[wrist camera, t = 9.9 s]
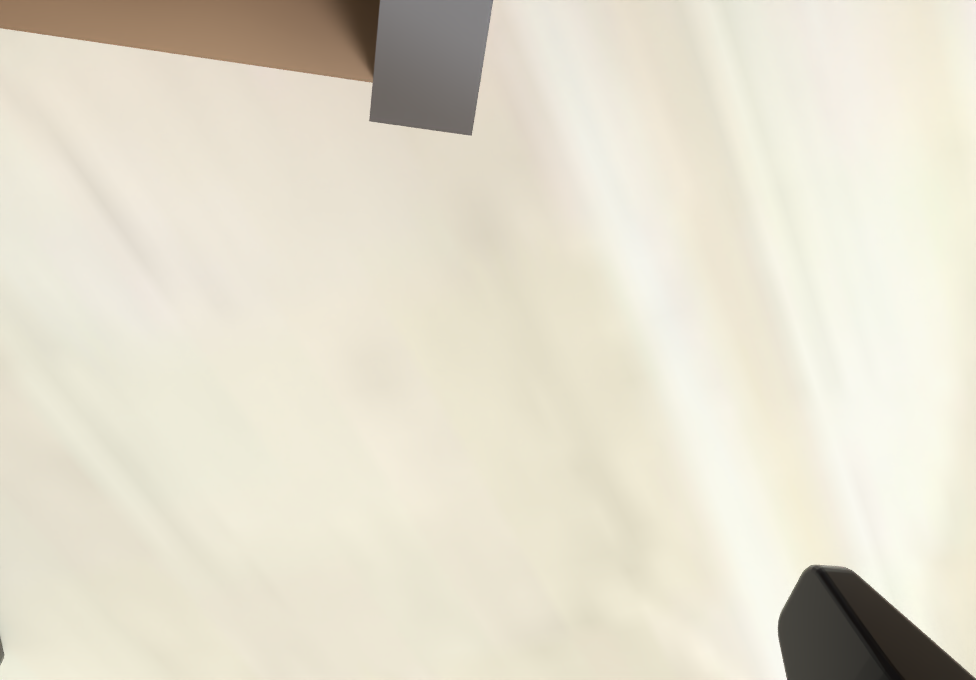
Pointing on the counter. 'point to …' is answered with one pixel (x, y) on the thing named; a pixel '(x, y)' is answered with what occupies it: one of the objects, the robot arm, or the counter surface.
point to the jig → (303, 43)
